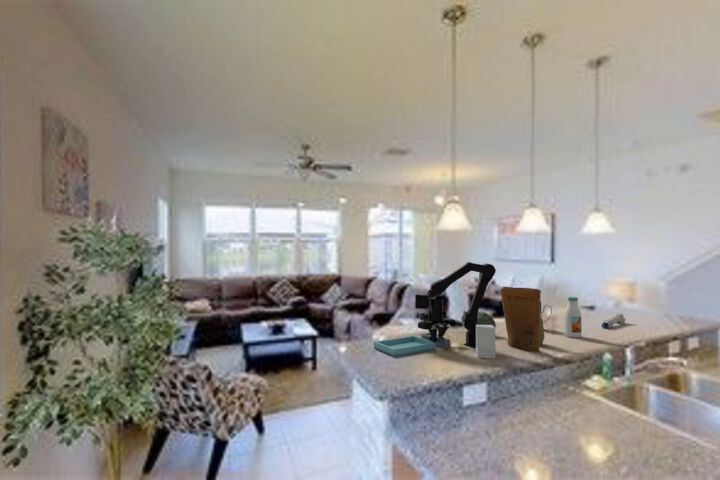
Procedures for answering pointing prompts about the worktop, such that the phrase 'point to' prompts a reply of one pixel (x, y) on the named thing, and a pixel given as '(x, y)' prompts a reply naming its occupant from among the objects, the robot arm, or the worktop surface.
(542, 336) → the squeeze bottle
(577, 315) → the milk bottle
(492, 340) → the supplement box
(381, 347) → the bin
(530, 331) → the pancake mix bag
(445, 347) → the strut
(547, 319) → the glass holder
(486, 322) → the vegetable
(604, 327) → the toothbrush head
